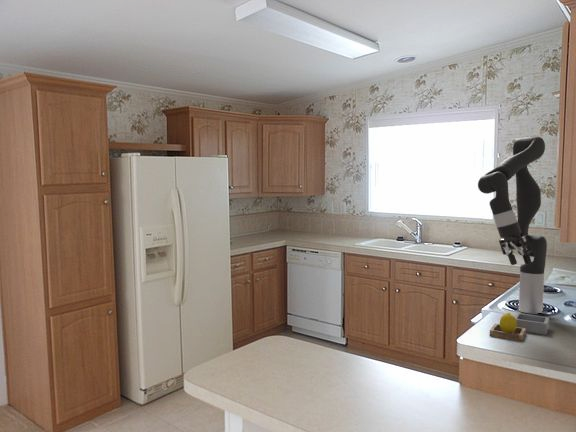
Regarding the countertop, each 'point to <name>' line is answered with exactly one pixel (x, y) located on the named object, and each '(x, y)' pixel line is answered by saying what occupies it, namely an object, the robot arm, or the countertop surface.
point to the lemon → (508, 323)
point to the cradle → (508, 335)
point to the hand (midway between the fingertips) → (521, 264)
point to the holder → (533, 323)
